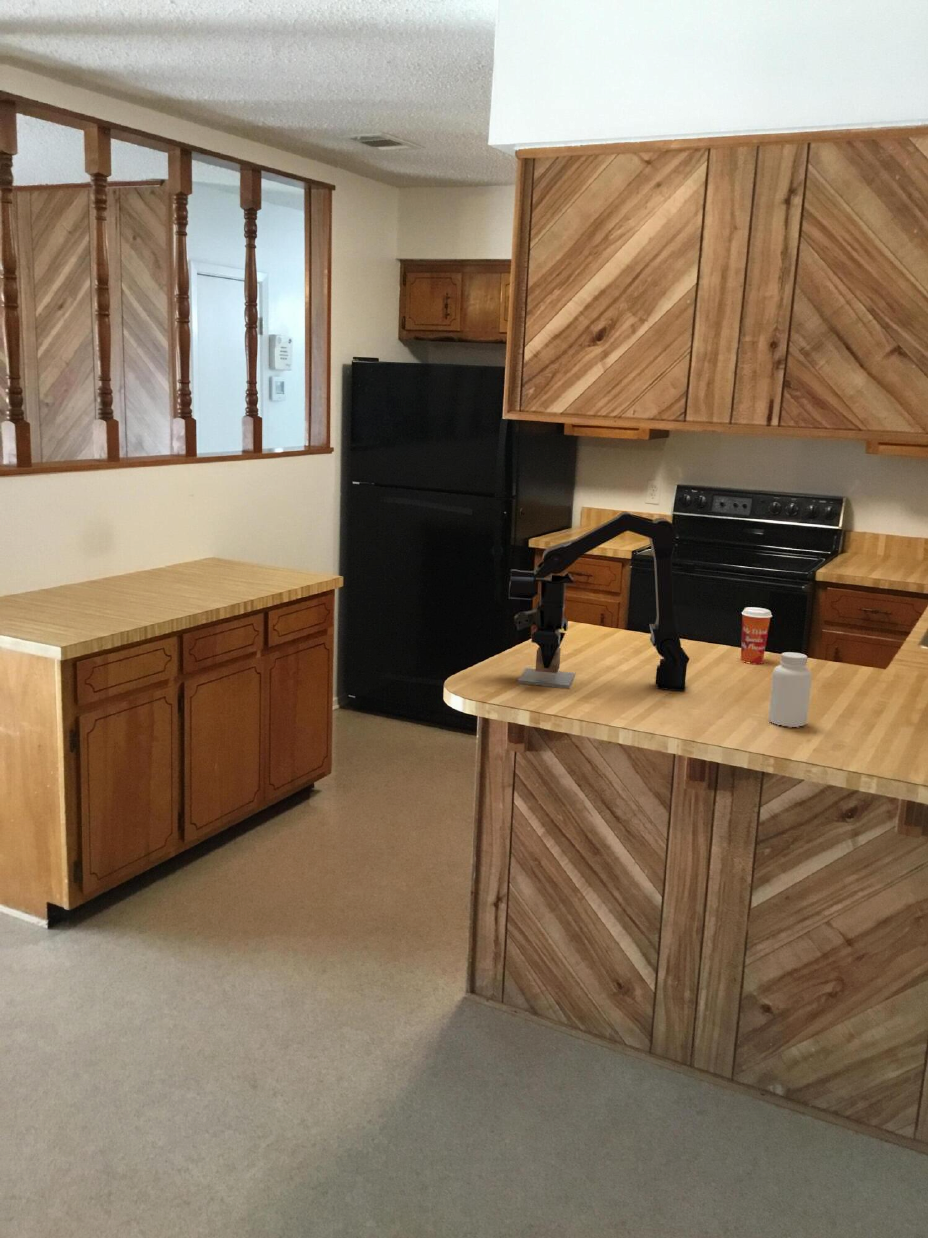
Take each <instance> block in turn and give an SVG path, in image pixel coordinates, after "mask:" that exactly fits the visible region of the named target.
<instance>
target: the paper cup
mask: <svg viewBox="0 0 928 1238" xmlns="http://www.w3.org/2000/svg"><path fill="white" fill-rule="evenodd" d="M741 614H742V620H741V621H742V623H741V643H740V644H741V645H740V647H741V648H740V661H741V660H742V661H745V662H750V663H761V662H762V663H763V662H764V656H765V652H766V647H767V640H768V633H769V628H770V623H771V622H770V621H771V618H772V617H773V615H772V612H771V610H769V609H767V608H762V607H755V606H753V607H752V606H751V607H749V606H748V607H747V606H746V607H744V609H743V610H742V612H741ZM742 661H741V662H742Z"/></svg>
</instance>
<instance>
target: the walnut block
mask: <svg viewBox="0 0 928 1238" xmlns="http://www.w3.org/2000/svg"><path fill="white" fill-rule="evenodd" d="M561 651H562V649H561V647H559V648H558V649H557V651H556V653H555V655H554V658H553V660H552V662H551V664H550V666H549V668H544V665H543V659H542V653H541V648H540V647H539V646H538V648H537V650H536V656H535V669H536V671H540V672H550V673H557V672H558V671H559V670H560V666H561V664H560V663H561Z"/></svg>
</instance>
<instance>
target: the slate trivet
mask: <svg viewBox="0 0 928 1238" xmlns="http://www.w3.org/2000/svg"><path fill="white" fill-rule="evenodd" d="M575 677H576V672H568V671H559V670H558V672H557V673H550V672H540V671H536V668H531V667H530V668H529V667H525V669H524V670H523V672H522V674H521V675H520V676H519V677H518V679H517V684H519V685H528V684H534V685H533V686H537V685H542V686H541V687H547V686H552V687H551V688H556V687H557V688H558V689H566V688H567V689H568V690H569V689H570V688H571V685H572V683H573V681H574V679H575Z"/></svg>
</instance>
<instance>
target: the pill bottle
mask: <svg viewBox="0 0 928 1238" xmlns="http://www.w3.org/2000/svg"><path fill="white" fill-rule="evenodd" d="M779 662H780V664H779V665H777V666H775V667H774V668H773V671H772V678H771V690H770V698H769V709H768V721H769V722H770V723H771V722H772V723H771V724H773V723H775V724H777V725H776V726H779V725H783V726H788V727H787V728H792V727H797V728H799V727H798V726H803V725H805V724H806V725H807V723H808V718H809V707H810V699H811V697H810V696H811V687H812V679H813V678H812V676H813V675H812V672H811V670H810V669H809V668H808V667H807V665H808V664H807V663H808V656H807V655H806V654H804V653H800V652H791V651H788V652H787V651H786V652H782V653H781V654H780V661H779ZM775 724H774V725H775ZM806 725H805V726H806ZM783 726H782V727H783ZM803 727H804V726H803Z"/></svg>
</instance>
